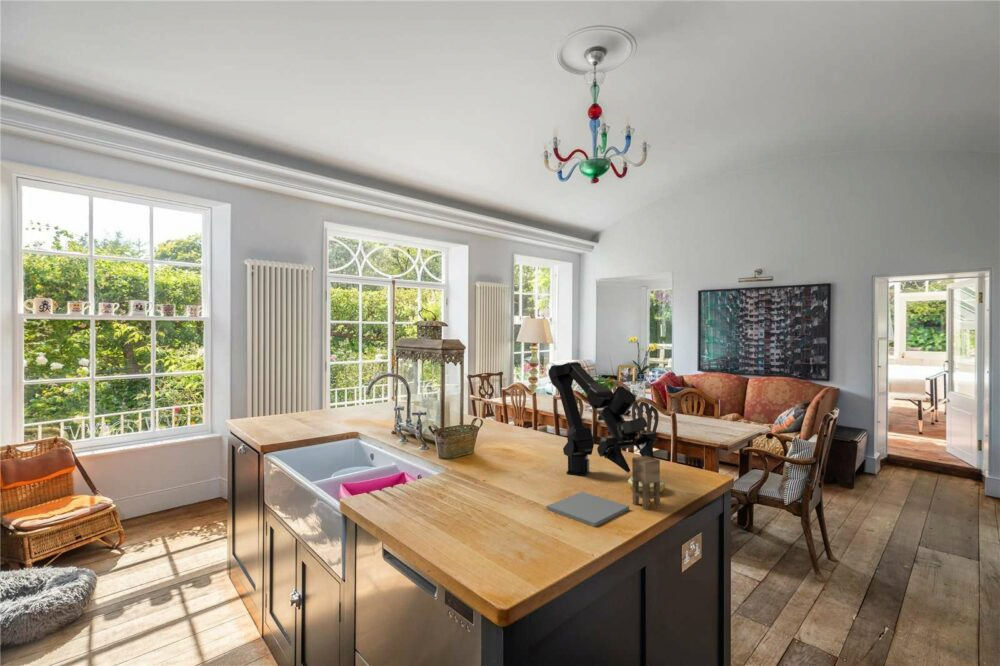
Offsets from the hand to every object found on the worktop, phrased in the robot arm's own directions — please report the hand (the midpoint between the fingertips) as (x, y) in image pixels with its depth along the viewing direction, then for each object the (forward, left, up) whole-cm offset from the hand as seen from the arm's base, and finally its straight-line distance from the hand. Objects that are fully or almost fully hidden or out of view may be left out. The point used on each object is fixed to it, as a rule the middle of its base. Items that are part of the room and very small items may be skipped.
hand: (641, 469), depth 131 cm
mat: (-13, -11, -10) cm, 19 cm away
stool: (+1, -1, -10) cm, 10 cm away
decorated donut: (-1, +12, -10) cm, 16 cm away
